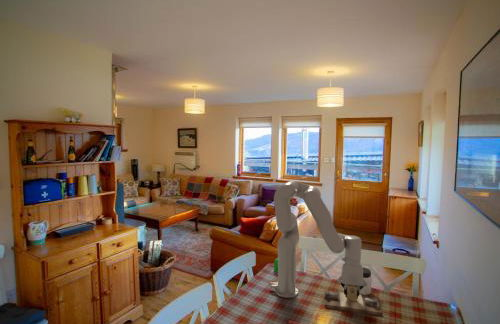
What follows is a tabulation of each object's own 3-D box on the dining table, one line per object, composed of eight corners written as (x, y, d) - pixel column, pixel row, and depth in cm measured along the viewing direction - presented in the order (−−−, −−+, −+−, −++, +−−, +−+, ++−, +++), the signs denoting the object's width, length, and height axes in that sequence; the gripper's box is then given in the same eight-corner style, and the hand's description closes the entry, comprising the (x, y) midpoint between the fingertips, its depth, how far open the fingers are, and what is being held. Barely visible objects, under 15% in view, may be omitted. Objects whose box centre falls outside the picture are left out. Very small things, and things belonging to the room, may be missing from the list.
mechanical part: (281, 274, 177) (281, 262, 177) (273, 271, 182) (274, 259, 181) (293, 269, 186) (293, 257, 185) (285, 266, 190) (286, 254, 189)
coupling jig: (324, 307, 142) (324, 298, 141) (324, 293, 155) (324, 285, 155) (381, 315, 135) (382, 306, 135) (376, 300, 149) (376, 292, 148)
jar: (362, 296, 152) (363, 274, 152) (350, 289, 159) (351, 268, 159) (374, 293, 156) (374, 271, 156) (362, 286, 163) (363, 265, 163)
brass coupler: (347, 300, 142) (347, 286, 142) (346, 293, 149) (346, 280, 148) (356, 301, 141) (357, 287, 141) (355, 295, 147) (355, 281, 147)
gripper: (335, 262, 142) (334, 298, 143) (371, 266, 138) (370, 303, 139) (334, 256, 150) (333, 290, 151) (369, 260, 145) (368, 295, 146)
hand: (351, 296), depth 145 cm, fingers closed on brass coupler, 4 cm apart
